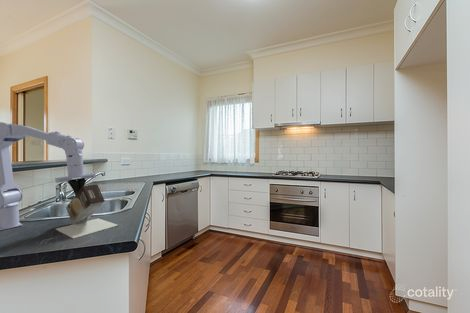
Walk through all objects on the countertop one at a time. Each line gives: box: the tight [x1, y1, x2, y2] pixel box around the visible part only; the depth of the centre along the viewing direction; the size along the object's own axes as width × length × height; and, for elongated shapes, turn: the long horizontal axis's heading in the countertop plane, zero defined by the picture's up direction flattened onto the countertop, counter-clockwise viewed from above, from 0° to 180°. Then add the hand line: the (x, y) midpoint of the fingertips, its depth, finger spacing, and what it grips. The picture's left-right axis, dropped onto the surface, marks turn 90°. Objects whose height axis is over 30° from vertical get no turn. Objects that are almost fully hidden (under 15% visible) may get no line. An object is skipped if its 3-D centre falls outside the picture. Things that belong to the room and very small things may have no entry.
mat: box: [55, 218, 119, 239], centre depth 90 cm, size 18×16×1 cm
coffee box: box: [65, 184, 105, 225], centre depth 94 cm, size 9×6×16 cm
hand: (78, 196), depth 96 cm, fingers closed, pressing on coffee box
